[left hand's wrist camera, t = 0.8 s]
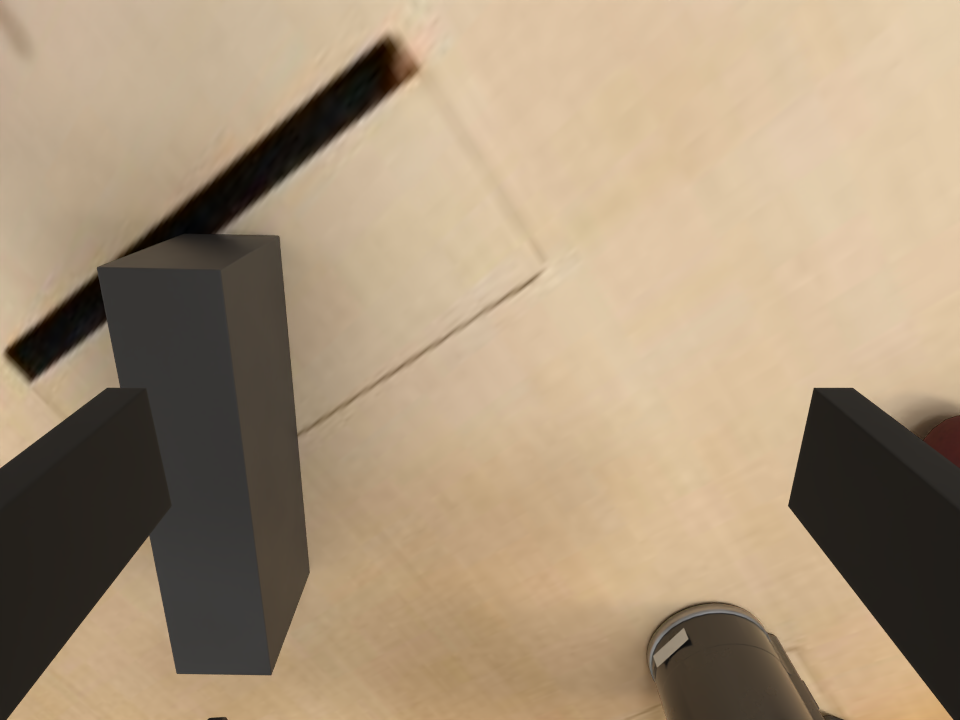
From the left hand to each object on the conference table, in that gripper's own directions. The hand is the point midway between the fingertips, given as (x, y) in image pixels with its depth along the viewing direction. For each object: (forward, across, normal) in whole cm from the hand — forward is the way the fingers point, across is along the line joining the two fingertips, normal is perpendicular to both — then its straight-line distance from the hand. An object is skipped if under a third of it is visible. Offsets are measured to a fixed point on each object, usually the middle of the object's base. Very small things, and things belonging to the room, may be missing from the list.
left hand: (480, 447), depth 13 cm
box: (+27, -15, -13) cm, 33 cm away
